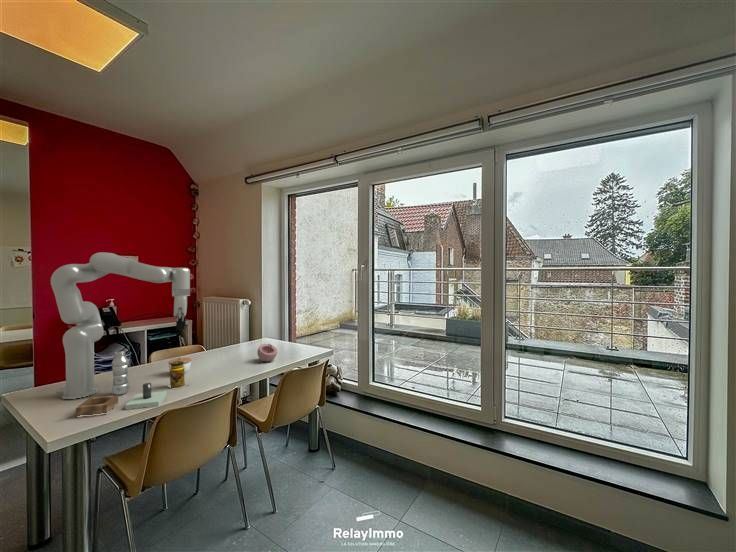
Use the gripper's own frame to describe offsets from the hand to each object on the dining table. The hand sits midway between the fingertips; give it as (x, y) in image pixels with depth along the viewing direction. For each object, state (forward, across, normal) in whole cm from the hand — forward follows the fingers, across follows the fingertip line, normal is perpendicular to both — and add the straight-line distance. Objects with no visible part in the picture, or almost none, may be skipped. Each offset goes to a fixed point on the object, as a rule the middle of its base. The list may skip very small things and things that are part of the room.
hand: (181, 327), depth 155 cm
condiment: (+30, -3, -2) cm, 30 cm away
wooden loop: (+30, +15, -28) cm, 44 cm away
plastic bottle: (+30, -2, -24) cm, 39 cm away
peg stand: (+30, +14, -12) cm, 35 cm away
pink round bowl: (+30, -26, +45) cm, 60 cm away
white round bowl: (+30, -22, -2) cm, 37 cm away
